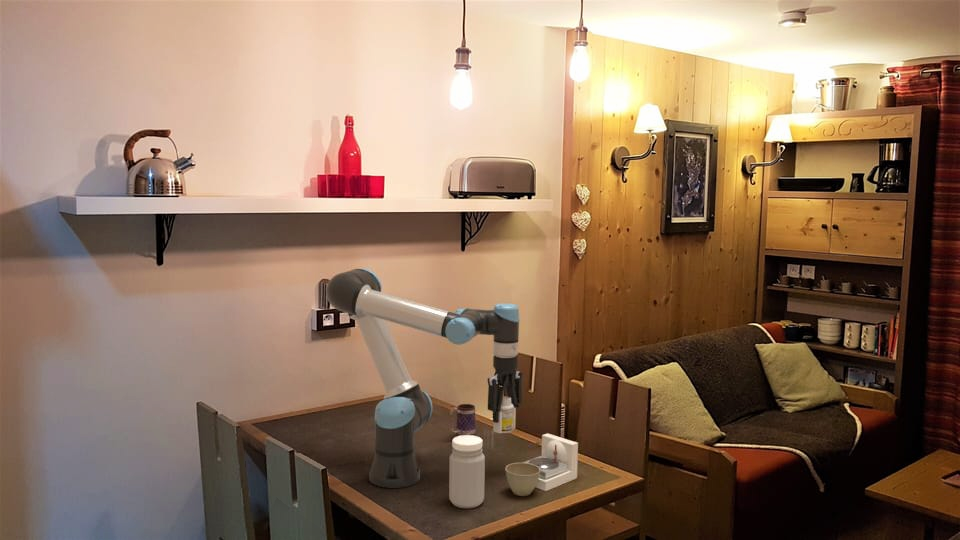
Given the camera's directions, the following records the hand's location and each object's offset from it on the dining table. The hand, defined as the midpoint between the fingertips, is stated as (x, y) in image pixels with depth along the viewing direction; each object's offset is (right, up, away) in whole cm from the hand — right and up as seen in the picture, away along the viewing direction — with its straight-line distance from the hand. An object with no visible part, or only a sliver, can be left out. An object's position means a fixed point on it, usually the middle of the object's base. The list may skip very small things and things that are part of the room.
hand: (504, 429), depth 233 cm
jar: (-11, -16, -20) cm, 28 cm away
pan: (+12, -11, -4) cm, 17 cm away
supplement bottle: (0, -1, 0) cm, 1 cm away
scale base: (+12, -14, -2) cm, 19 cm away
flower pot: (+5, -16, -13) cm, 21 cm away
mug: (-14, -10, +32) cm, 36 cm away
